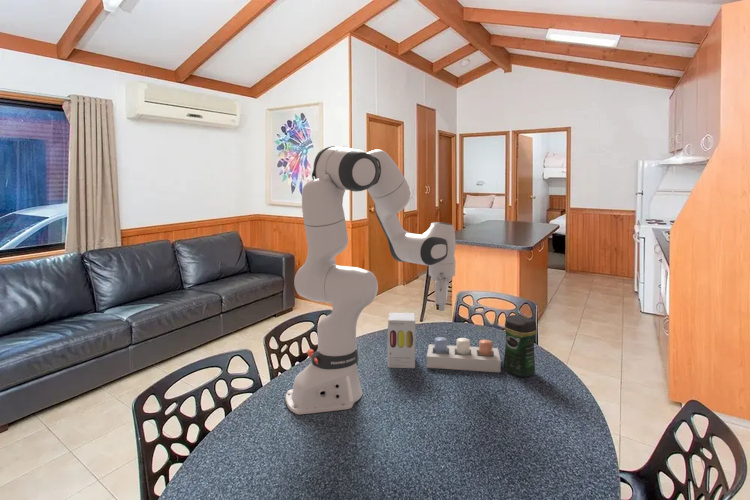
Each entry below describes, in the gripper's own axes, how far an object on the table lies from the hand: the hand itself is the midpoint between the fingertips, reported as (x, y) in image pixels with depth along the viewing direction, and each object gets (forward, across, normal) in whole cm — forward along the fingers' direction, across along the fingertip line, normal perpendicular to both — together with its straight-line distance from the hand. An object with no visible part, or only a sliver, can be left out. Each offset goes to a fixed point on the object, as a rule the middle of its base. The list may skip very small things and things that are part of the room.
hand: (441, 309), depth 149 cm
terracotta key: (+15, 0, -15) cm, 21 cm away
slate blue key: (+15, 0, 0) cm, 15 cm away
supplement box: (+19, -3, +14) cm, 23 cm away
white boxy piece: (+19, 0, -7) cm, 20 cm away
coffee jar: (+19, -4, -25) cm, 32 cm away
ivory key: (+15, 0, -7) cm, 16 cm away
